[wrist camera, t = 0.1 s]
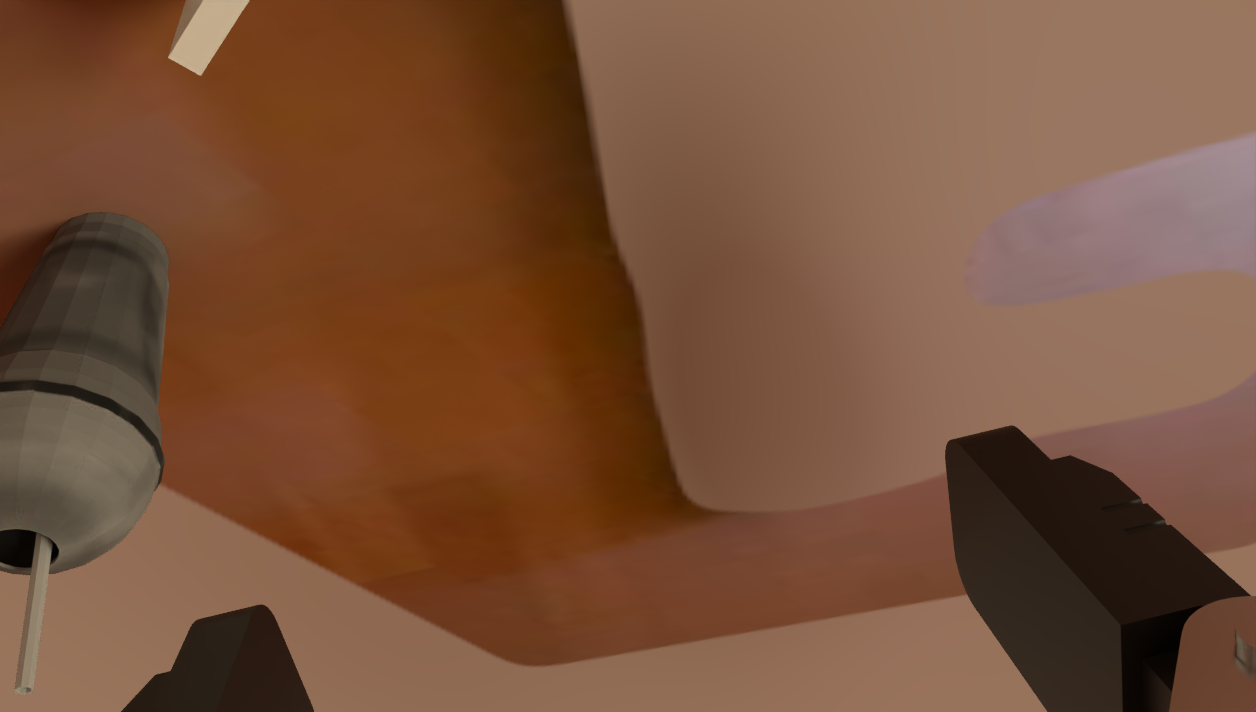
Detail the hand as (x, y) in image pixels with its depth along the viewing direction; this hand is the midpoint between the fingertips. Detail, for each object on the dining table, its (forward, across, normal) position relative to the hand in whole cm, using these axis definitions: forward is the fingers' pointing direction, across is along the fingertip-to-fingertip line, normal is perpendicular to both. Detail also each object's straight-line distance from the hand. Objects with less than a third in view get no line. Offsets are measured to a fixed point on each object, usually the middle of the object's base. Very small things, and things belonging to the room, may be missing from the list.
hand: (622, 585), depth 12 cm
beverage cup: (+35, +19, +2) cm, 39 cm away
